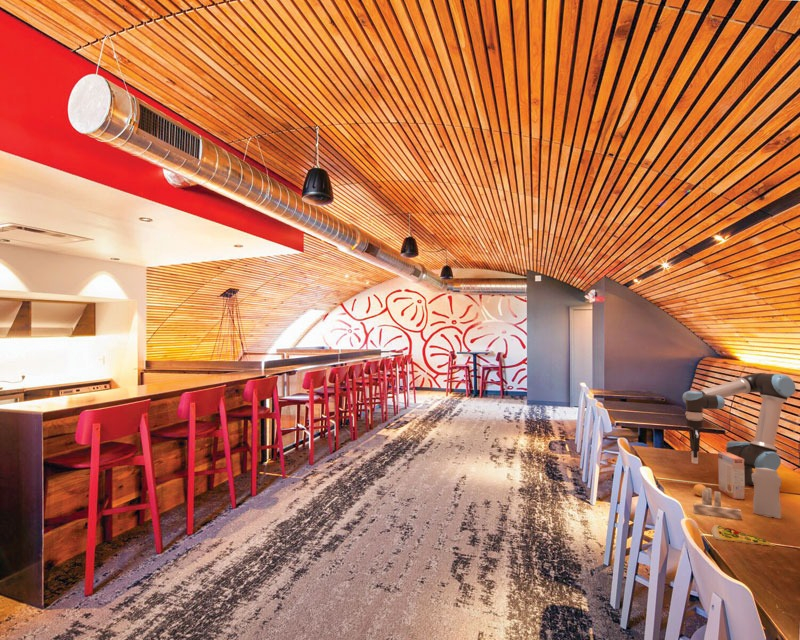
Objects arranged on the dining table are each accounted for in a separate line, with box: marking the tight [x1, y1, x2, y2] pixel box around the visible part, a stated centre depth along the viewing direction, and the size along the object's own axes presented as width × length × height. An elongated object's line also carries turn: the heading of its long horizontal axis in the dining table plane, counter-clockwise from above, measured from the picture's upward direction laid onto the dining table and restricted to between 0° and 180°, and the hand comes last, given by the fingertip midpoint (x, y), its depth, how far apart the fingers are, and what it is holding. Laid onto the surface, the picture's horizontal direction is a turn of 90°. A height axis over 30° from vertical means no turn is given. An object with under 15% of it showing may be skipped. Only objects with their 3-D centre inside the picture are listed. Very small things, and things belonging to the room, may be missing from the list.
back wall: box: [693, 503, 743, 521], centre depth 199 cm, size 18×2×4 cm, turn 68°
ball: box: [693, 483, 707, 497], centre depth 225 cm, size 6×6×6 cm
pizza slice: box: [710, 524, 776, 547], centre depth 175 cm, size 16×21×3 cm
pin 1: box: [701, 490, 708, 505], centre depth 208 cm, size 2×2×8 cm
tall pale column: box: [752, 468, 782, 520], centre depth 200 cm, size 11×4×22 cm, turn 54°
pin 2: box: [713, 490, 722, 507], centre depth 206 cm, size 2×2×8 cm
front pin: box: [706, 487, 713, 506], centre depth 211 cm, size 2×2×8 cm
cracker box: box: [717, 451, 746, 501], centre depth 228 cm, size 14×6×21 cm, turn 168°
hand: (694, 463), depth 234 cm, fingers closed
